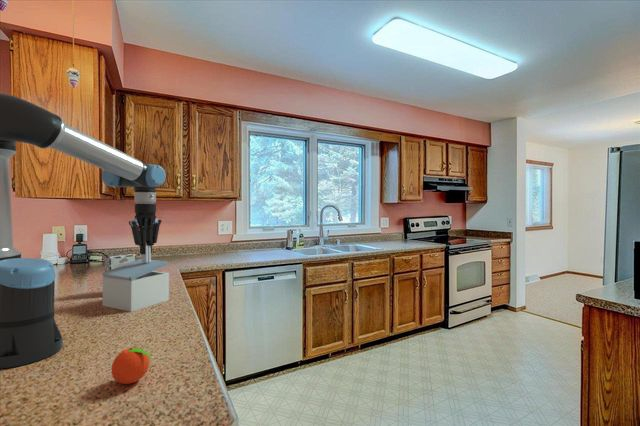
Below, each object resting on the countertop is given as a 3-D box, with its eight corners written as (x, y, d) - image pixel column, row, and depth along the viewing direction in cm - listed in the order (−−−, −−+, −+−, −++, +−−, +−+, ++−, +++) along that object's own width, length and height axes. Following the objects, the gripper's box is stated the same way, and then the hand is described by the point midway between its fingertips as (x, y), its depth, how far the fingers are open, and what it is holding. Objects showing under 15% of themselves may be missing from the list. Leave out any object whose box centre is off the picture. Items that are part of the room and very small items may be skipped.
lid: (129, 280, 113) (129, 277, 113) (101, 276, 119) (100, 273, 119) (168, 264, 128) (167, 261, 127) (141, 261, 134) (140, 258, 134)
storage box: (131, 311, 113) (131, 280, 113) (102, 305, 120) (102, 276, 120) (168, 300, 128) (169, 273, 128) (141, 295, 135) (141, 269, 134)
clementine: (160, 373, 71) (160, 342, 71) (142, 391, 64) (142, 356, 64) (124, 373, 71) (125, 341, 71) (103, 390, 64) (103, 355, 64)
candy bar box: (130, 289, 145) (130, 253, 144) (136, 291, 142) (137, 254, 142) (103, 295, 135) (103, 256, 135) (109, 296, 132) (110, 257, 132)
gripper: (136, 203, 119) (136, 265, 120) (166, 203, 131) (167, 259, 132) (122, 203, 122) (123, 264, 123) (153, 203, 135) (154, 258, 135)
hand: (146, 261), depth 128 cm, fingers closed
